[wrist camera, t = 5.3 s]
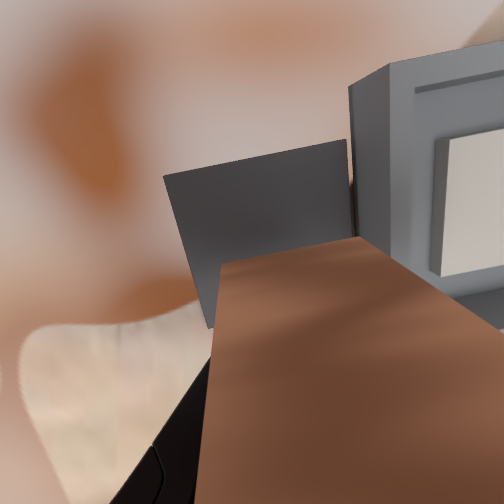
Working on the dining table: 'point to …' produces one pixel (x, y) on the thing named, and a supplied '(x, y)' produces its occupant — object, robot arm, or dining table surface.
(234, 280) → the block
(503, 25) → the dining table surface
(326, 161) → the mat
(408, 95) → the crate
